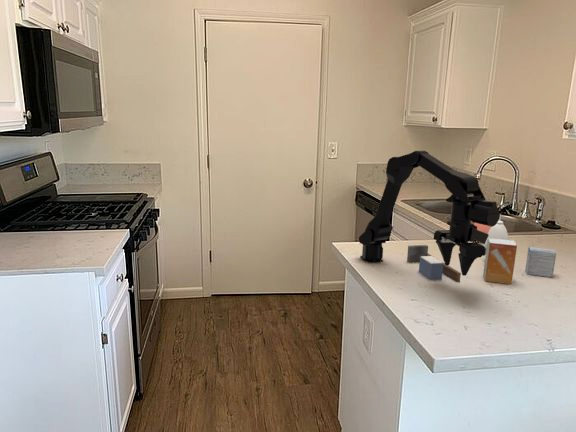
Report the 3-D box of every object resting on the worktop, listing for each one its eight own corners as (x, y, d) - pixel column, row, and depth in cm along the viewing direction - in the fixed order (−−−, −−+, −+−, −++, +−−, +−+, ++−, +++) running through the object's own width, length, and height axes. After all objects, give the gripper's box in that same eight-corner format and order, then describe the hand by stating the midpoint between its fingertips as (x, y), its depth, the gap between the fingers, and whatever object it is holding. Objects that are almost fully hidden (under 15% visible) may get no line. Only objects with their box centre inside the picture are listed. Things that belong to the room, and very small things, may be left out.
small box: (484, 281, 150) (489, 242, 147) (482, 275, 156) (487, 237, 153) (512, 284, 147) (517, 245, 144) (509, 278, 153) (514, 240, 150)
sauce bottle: (509, 262, 170) (515, 214, 166) (501, 267, 164) (508, 217, 161) (487, 257, 175) (493, 210, 171) (479, 262, 170) (485, 213, 166)
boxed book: (430, 280, 150) (431, 263, 149) (418, 272, 157) (420, 256, 156) (441, 279, 151) (443, 262, 149) (429, 271, 158) (431, 255, 157)
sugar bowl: (502, 244, 194) (505, 220, 192) (468, 243, 194) (471, 219, 192) (490, 236, 206) (492, 214, 204) (458, 236, 206) (460, 213, 204)
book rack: (438, 283, 147) (439, 265, 146) (406, 261, 168) (408, 245, 167) (459, 281, 149) (461, 264, 147) (426, 260, 170) (427, 244, 168)
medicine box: (550, 273, 159) (554, 249, 157) (553, 277, 155) (556, 252, 153) (524, 270, 161) (528, 246, 159) (526, 274, 157) (530, 250, 155)
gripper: (506, 226, 128) (499, 279, 132) (467, 211, 146) (462, 259, 149) (469, 227, 126) (463, 281, 129) (435, 212, 144) (430, 260, 147)
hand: (455, 270), depth 139 cm, fingers open, 9 cm apart
